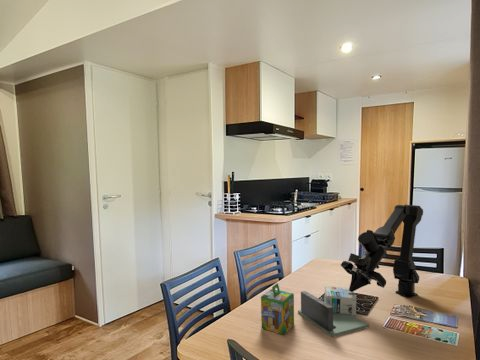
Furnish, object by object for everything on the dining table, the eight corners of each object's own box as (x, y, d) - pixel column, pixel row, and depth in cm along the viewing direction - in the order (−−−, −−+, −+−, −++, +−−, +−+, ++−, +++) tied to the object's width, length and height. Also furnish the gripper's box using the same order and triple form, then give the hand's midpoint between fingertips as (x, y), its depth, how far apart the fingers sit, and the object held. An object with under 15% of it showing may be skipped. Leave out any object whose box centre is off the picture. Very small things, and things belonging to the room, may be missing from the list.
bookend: (309, 310, 124) (309, 290, 124) (337, 329, 110) (337, 305, 109) (301, 312, 123) (300, 291, 122) (328, 331, 108) (328, 308, 108)
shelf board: (331, 305, 131) (331, 302, 131) (368, 327, 113) (368, 324, 113) (298, 312, 125) (298, 310, 125) (332, 337, 106) (332, 334, 106)
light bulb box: (356, 297, 120) (327, 295, 121) (356, 315, 120) (326, 313, 122) (351, 287, 130) (324, 285, 132) (351, 303, 130) (324, 301, 132)
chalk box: (284, 335, 108) (284, 292, 107) (260, 329, 113) (260, 287, 112) (295, 324, 116) (294, 283, 115) (272, 318, 120) (271, 279, 120)
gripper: (344, 241, 132) (322, 271, 128) (380, 251, 115) (357, 286, 111) (358, 257, 136) (338, 287, 131) (396, 270, 119) (374, 305, 114)
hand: (350, 291), depth 122 cm, fingers closed
